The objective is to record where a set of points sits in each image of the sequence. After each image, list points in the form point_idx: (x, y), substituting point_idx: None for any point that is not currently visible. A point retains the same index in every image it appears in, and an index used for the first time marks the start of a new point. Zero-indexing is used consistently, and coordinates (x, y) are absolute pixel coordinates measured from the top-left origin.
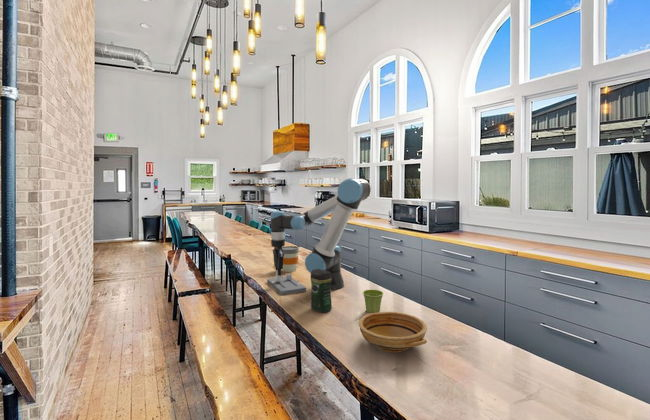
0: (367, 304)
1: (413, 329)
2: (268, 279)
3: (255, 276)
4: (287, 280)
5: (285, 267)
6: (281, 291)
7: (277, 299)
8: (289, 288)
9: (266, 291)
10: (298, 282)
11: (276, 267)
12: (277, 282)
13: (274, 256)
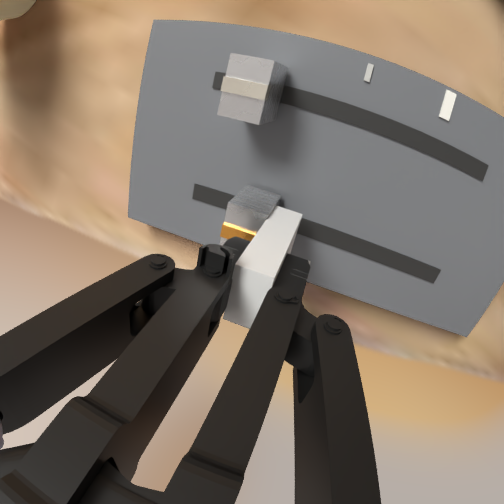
0: None
1: None
2: (142, 218)
3: (28, 193)
4: None
5: (10, 6)
6: (466, 336)
7: (480, 368)
8: (479, 262)
9: None
10: (409, 74)
11: (216, 327)
12: None
13: (56, 399)
